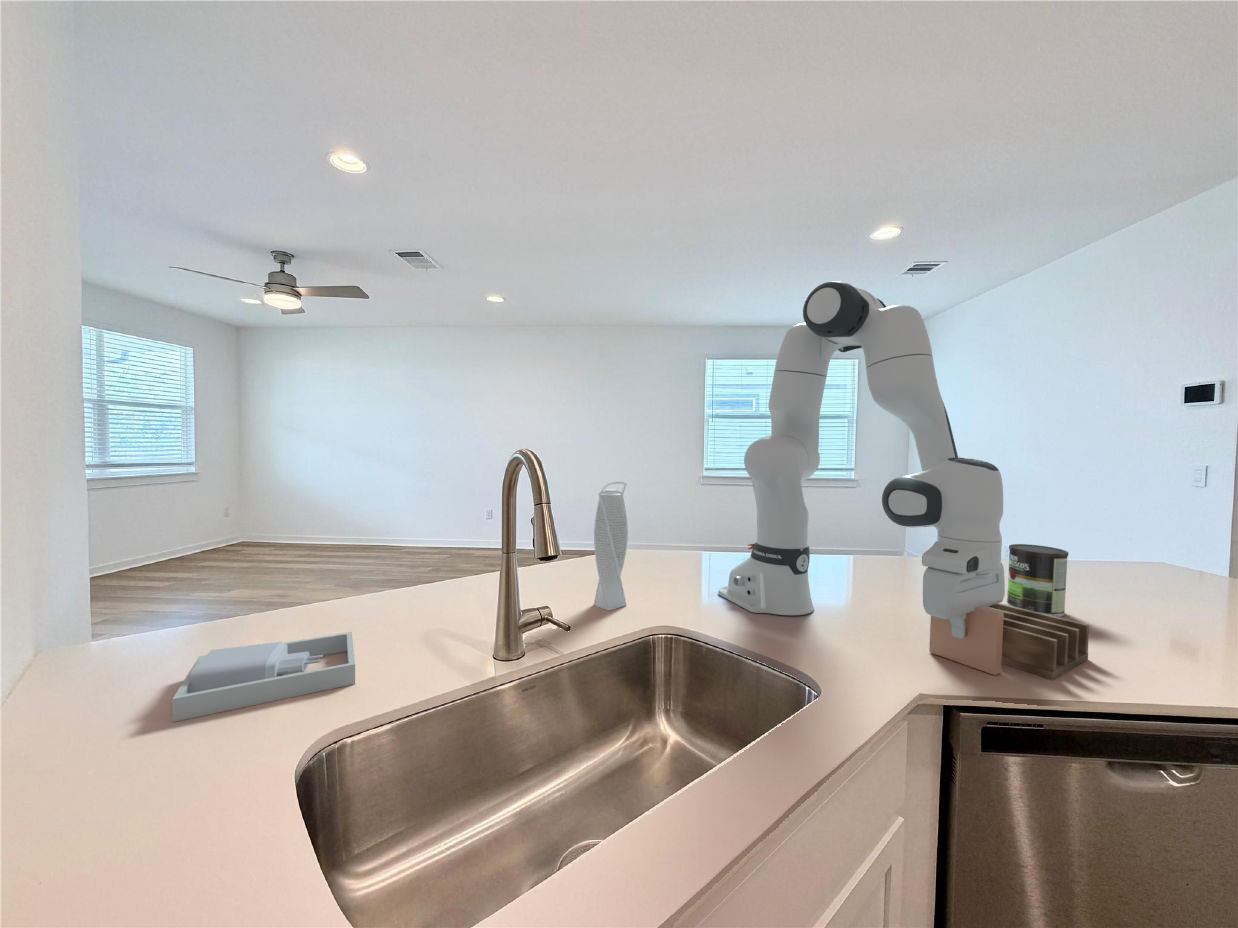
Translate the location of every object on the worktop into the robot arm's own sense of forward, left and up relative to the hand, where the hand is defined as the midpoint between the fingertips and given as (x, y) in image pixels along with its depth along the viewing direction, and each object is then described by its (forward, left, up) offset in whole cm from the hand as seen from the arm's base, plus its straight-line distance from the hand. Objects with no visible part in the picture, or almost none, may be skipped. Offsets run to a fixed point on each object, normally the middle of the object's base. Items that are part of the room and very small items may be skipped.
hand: (964, 634), depth 83 cm
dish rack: (+2, +13, -5) cm, 14 cm away
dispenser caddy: (-49, -100, -5) cm, 111 cm away
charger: (-49, -101, -5) cm, 113 cm away
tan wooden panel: (0, 0, -5) cm, 5 cm away
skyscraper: (-55, -38, -5) cm, 67 cm away
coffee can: (-6, +46, -5) cm, 47 cm away
